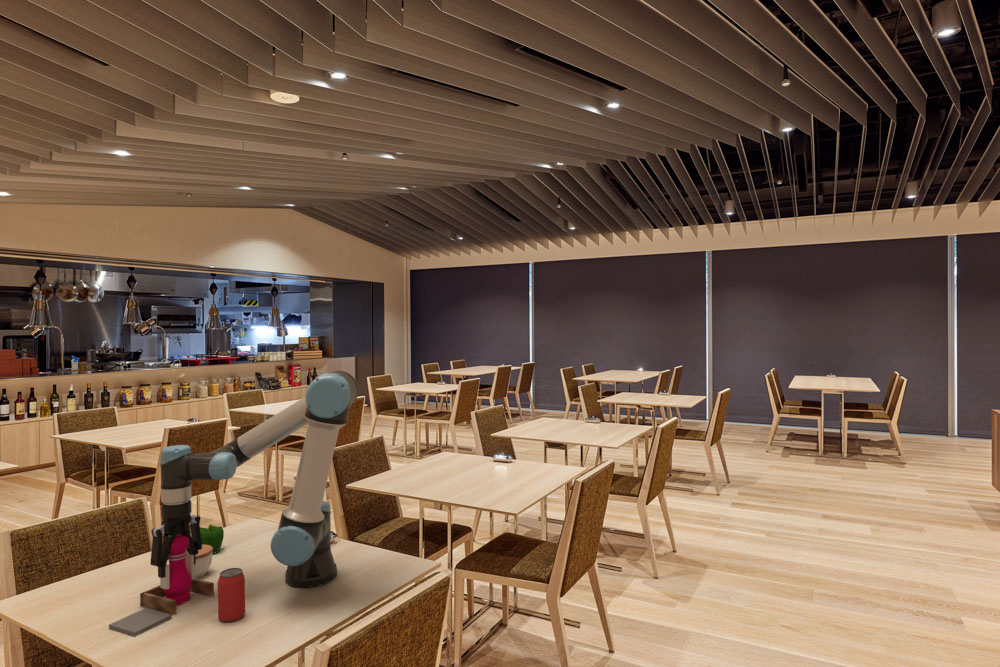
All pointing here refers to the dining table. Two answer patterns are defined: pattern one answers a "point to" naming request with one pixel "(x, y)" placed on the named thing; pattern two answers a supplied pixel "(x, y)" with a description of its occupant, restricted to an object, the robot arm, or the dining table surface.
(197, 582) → the u-shaped frame
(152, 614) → the coaster
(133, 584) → the dining table surface
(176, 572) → the pepper mill
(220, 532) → the bell pepper
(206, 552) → the lidded jar
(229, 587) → the beer can
